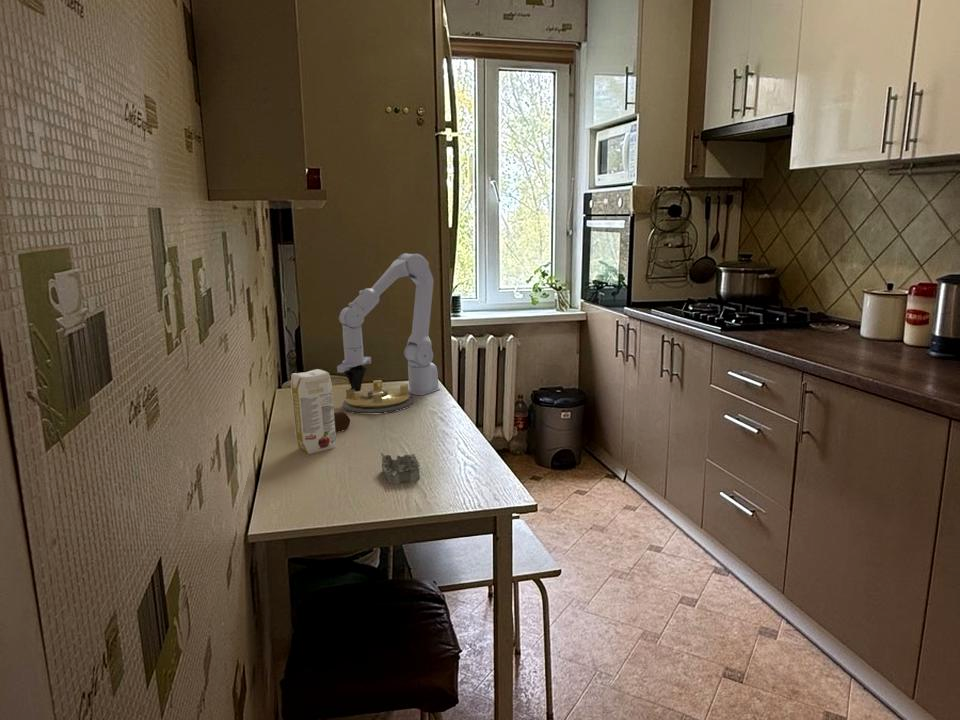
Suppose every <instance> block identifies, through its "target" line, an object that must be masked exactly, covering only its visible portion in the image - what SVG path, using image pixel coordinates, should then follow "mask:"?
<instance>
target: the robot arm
mask: <svg viewBox="0 0 960 720" xmlns="http://www.w3.org/2000/svg"><path fill="white" fill-rule="evenodd" d="M429 265H430V262H429V260H427V259H426V258H425V257H424V256H423V255H422V254H419V253H405V252H404V253H402V254H400V255H399V256H398V257H397V259H395V260H393V261H392V263H391V265H390V266H389V267H388V268H387V269H386V270H385V271H384V273H383V274H382V275H381V276H380V277H379V279H378V280H376V282H375V283H374V284H373V285H372V287H370V288H367V287H366V288H364V289H360V290H359V291H358V293H359V294H358V296H356V297H355V299H354V300H353V301H352V302H351V301H350V302H349V303H348V304H347V305H348V306H347V307H344V308H343V309H342V310H341V311H340V313H339V316H338V321H339V322H340V324H341V325H342V326H341V327H342V341H343V354H344V357H343V358H344V360H342V363H341V364H338V365H336V369H337V371H336V372H337V373H342V374H343V373H344V375H345V377H347V379H348V382H349V384H350V388H355V392H356V391H360V390H362V383H363V379H364V375H366V374H365V373H366V372H367V366H366V365H367V364H369V365H370V364H371V363H372V357H371V356H364V343H363V342H364V341H363V330H362V325H363V323H364V322H365V317H366V316H368V314H370V312H371V311H372V310H373V309H374V308H375V307H376V306H377V305H378V304H379V303H380V296H381V294H383V293H384V292H385V291H386V290H387V289H388V288H389V287H390V286H391V285H392V284H393V283H395V281H397V279H399V278H405V277H409V279H410V280H411V281H413V283H414V284H415V294H414V295H415V296H414V306H413V315H412V317H413V318H412V325H411V326H412V327H411V334H410V336H409V337H408V338H407V344H406V346H405V347H404V350H403V355H404V357H405V359H406V360H407V370H408V371H407V373H408V391H409V393H410V395H411V394H412V395H417V396H424V395H428V394H430V393H434V392H437V391H439V390H441V387H439V374H438V373H439V372H438V368H437V365H436V364H435V363H433V362H432V361H433V360H434V359H433V358H434V352H433V349H432V346H433V345H432V343H433V342H432V340H431V339H430V337H429V336H430V335H429V334H430V324H431V312H432V305H433V303H432V302H433V292H434V283H435V282H434V281H435V279H434V276H433V274H432V271H431V270H430V266H429ZM364 365H365V366H364Z"/></svg>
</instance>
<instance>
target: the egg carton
mask: <svg viewBox="0 0 960 720" xmlns="http://www.w3.org/2000/svg"><path fill="white" fill-rule="evenodd" d="M380 455H381V459H382V461H381V470H382V472H383V473H384V477H385V478H387V484H392V485H393V484H394V485H400V484H401V483H402V482H409V483H414V482H416V481H417V480H420V478H421V475H420V468H419V467H420V463H419V460H418V459H417V456H416V454H415V453H412V454H404V455H403V456H401V455H397V456H396V459H395V458H394V459H393V458H392V456H391V455H390V454H386V455H384V453H383V452H381V453H380ZM392 469H393V470H394V471H392Z"/></svg>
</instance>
